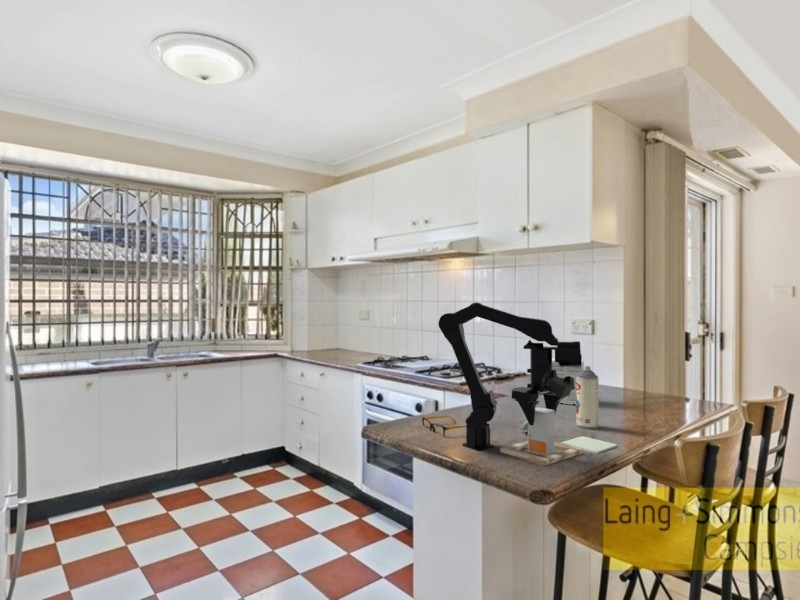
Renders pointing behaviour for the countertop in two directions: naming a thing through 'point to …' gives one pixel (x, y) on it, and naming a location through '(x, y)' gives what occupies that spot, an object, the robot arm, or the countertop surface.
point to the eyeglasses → (440, 425)
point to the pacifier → (524, 425)
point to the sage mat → (590, 444)
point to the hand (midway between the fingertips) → (541, 422)
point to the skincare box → (542, 432)
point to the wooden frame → (566, 453)
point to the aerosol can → (587, 399)
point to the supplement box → (568, 371)
